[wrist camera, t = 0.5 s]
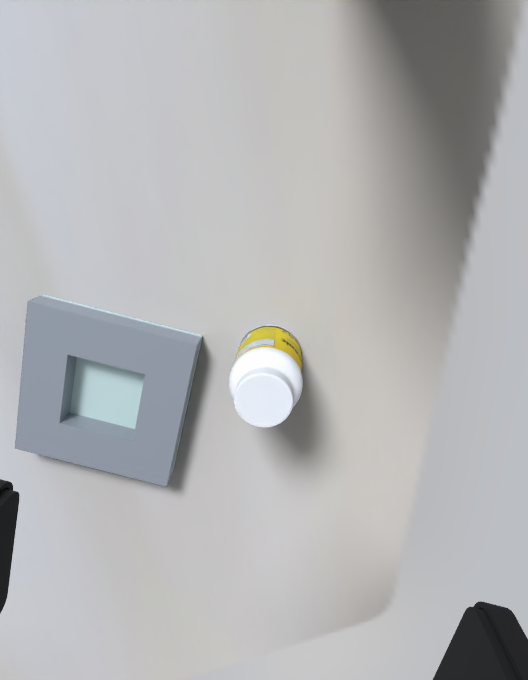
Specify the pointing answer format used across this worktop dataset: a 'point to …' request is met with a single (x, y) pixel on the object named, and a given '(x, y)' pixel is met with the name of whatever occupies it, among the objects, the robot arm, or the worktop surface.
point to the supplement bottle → (266, 376)
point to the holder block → (104, 389)
